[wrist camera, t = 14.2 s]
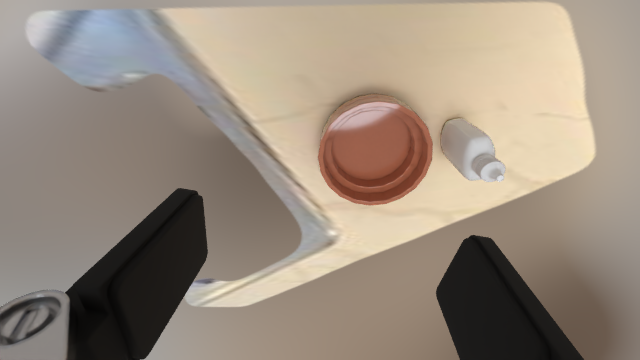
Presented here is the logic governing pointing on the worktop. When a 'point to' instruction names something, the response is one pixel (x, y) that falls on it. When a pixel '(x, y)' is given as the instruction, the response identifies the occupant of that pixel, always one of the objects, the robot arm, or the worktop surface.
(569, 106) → the worktop surface
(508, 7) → the worktop surface
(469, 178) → the eye dropper bottle
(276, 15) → the worktop surface
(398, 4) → the worktop surface
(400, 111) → the bowl
